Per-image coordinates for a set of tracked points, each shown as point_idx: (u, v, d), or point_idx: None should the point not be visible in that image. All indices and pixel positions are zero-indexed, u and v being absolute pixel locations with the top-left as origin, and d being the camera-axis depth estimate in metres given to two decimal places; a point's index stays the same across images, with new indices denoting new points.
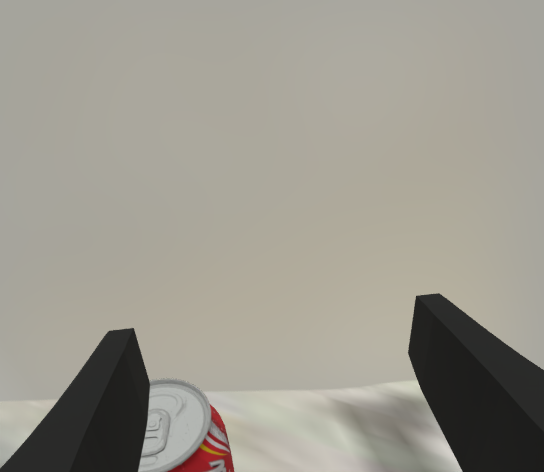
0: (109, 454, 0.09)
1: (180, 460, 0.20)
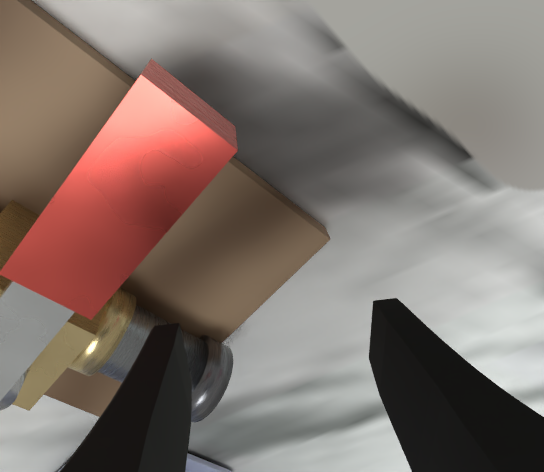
0: (166, 447, 0.09)
1: None
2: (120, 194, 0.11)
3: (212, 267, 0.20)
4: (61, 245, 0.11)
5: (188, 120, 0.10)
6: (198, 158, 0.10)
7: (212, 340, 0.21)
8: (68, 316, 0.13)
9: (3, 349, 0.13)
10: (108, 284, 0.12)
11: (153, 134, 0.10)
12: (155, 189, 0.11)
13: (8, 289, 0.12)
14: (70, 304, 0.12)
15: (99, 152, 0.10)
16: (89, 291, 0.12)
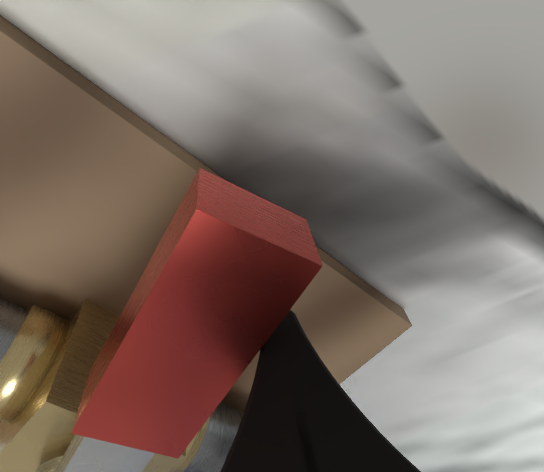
0: None
1: None
2: (191, 335, 0.09)
3: None
4: (133, 395, 0.10)
5: (259, 246, 0.08)
6: (276, 283, 0.09)
7: None
8: (152, 453, 0.11)
9: None
10: (191, 423, 0.10)
11: (220, 268, 0.08)
12: (230, 323, 0.09)
13: (84, 439, 0.11)
14: (152, 448, 0.11)
15: (160, 299, 0.08)
16: (171, 433, 0.11)
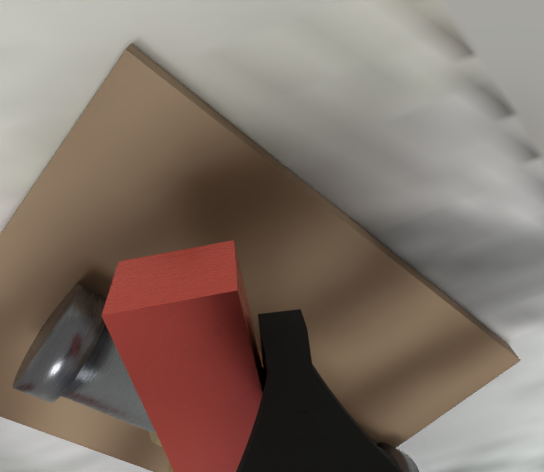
0: None
1: None
2: (194, 394, 0.10)
3: (406, 387, 0.21)
4: (200, 453, 0.11)
5: (173, 308, 0.09)
6: (215, 324, 0.09)
7: (397, 451, 0.22)
8: None
9: None
10: None
11: (162, 341, 0.09)
12: (213, 370, 0.10)
13: None
14: None
15: (145, 384, 0.10)
16: None
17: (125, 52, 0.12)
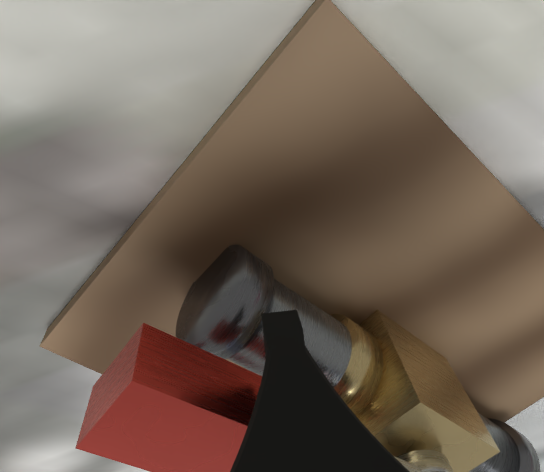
0: None
1: None
2: (199, 454, 0.11)
3: (525, 360, 0.21)
4: None
5: (109, 417, 0.10)
6: (148, 408, 0.10)
7: None
8: None
9: None
10: None
11: (130, 438, 0.10)
12: (190, 434, 0.11)
13: None
14: None
15: (157, 467, 0.11)
16: None
17: (326, 0, 0.12)
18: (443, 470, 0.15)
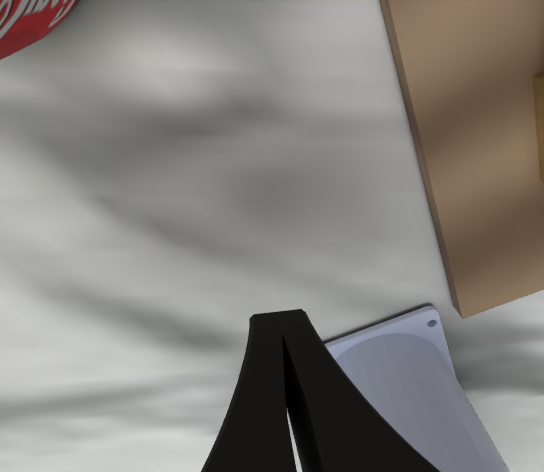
0: None
1: None
2: None
3: None
4: None
5: None
6: None
7: None
8: None
9: None
10: None
11: None
12: None
13: None
14: None
15: None
16: None
17: None
18: None
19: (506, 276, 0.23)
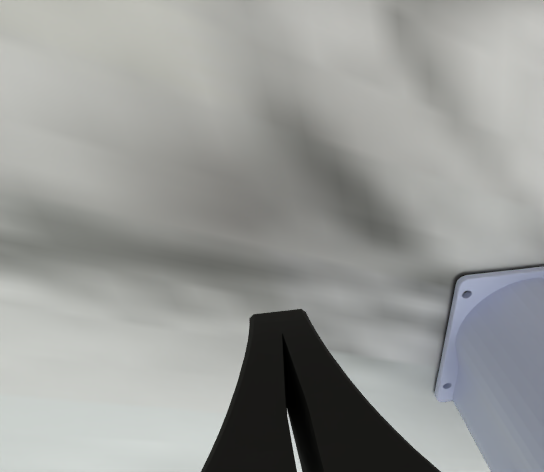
0: None
1: None
2: None
3: None
4: None
5: None
6: None
7: None
8: None
9: None
10: None
11: None
12: None
13: None
14: None
15: None
16: None
17: None
18: None
19: None
